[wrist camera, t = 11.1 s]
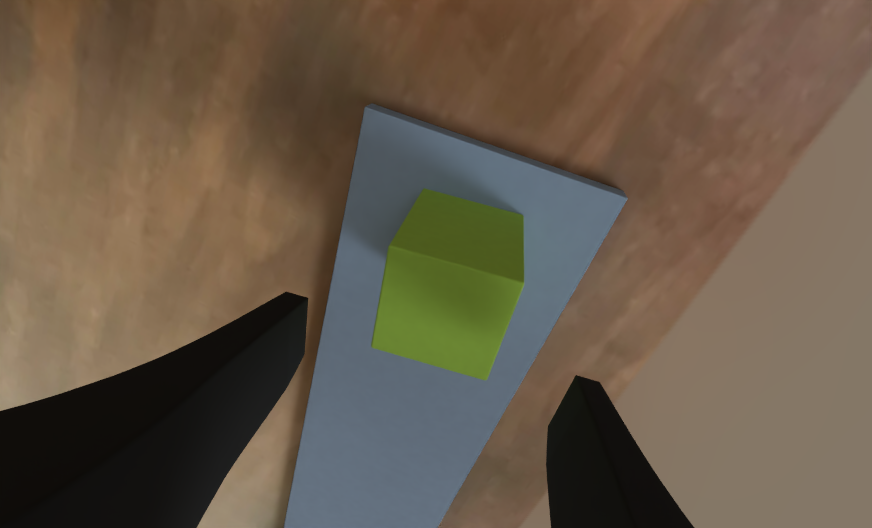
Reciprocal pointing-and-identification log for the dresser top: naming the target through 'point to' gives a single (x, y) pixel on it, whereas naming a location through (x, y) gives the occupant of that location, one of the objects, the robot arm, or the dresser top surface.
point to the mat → (409, 379)
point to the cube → (451, 284)
